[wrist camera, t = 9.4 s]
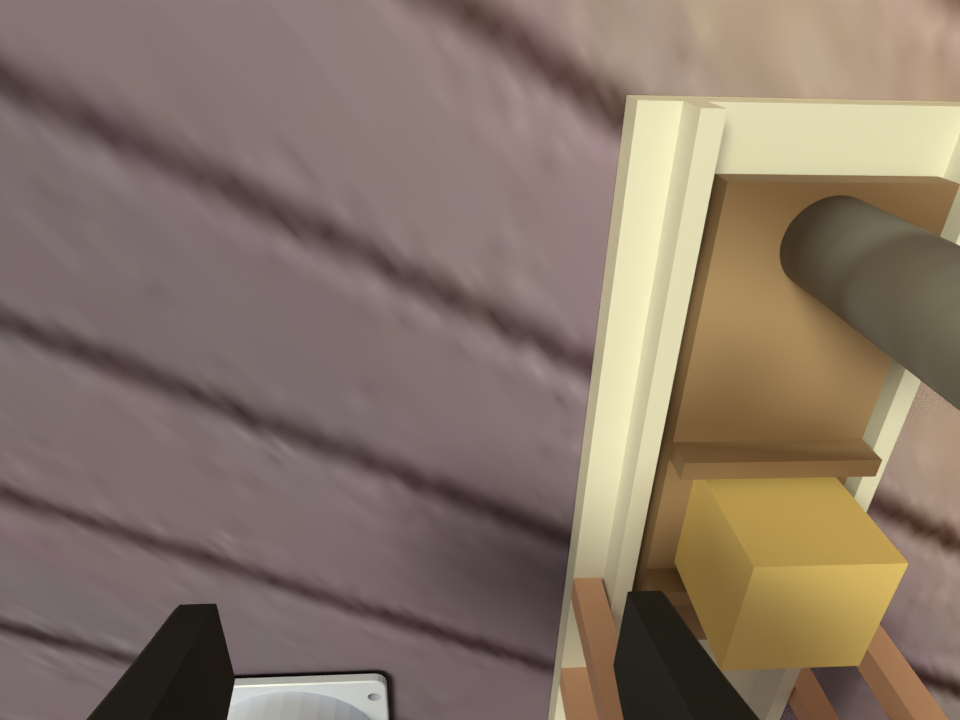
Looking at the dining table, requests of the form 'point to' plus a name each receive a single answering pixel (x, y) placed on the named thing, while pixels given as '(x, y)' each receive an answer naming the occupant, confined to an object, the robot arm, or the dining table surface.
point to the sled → (800, 337)
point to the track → (656, 344)
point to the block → (785, 572)
